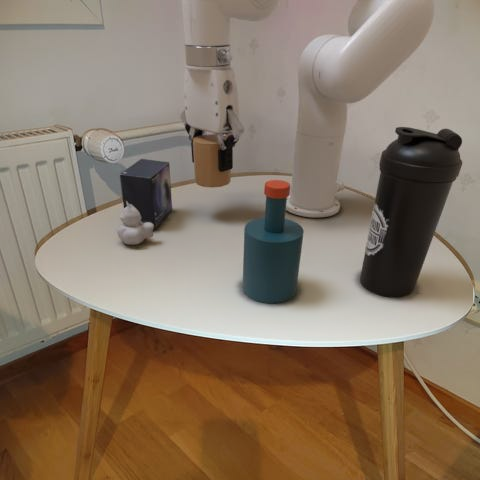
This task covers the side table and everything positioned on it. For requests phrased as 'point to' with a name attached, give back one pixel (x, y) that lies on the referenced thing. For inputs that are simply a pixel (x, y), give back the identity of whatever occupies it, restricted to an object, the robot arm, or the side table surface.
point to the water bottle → (408, 208)
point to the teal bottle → (272, 249)
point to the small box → (148, 190)
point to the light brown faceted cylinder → (208, 162)
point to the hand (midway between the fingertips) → (212, 165)
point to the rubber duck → (133, 226)
